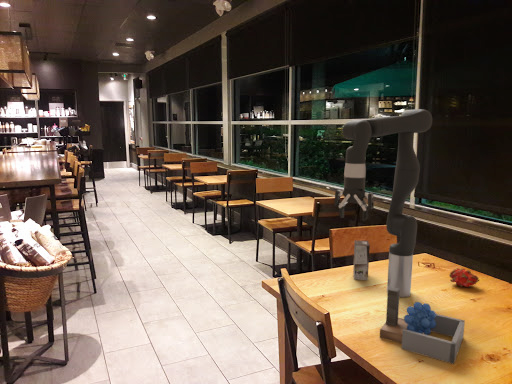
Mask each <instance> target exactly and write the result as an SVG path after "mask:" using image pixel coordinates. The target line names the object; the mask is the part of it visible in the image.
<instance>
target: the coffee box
mask: <svg viewBox="0 0 512 384" xmlns="http://www.w3.org/2000/svg"><path fill="white" fill-rule="evenodd" d="M353 246H354V247H353V248H354V249H353V250H354V251H353V271H352V272H353V279H354V280H358V281H359V280H360V281H368V279H369V264H370V250H371V249H370V243H369V240H356V239H355V240H354V245H353Z"/></svg>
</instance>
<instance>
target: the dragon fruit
mask: <svg viewBox="0 0 512 384" xmlns="http://www.w3.org/2000/svg"><path fill="white" fill-rule="evenodd" d="M449 278H451V279H450V280H449V281H450V282H451V283H455V285H456V286H459V287H460V288H463V287H466V288H468V289H472V288H473V287H474V285H476V284H477V283H479V282H480V279H479V277H478V276H477V275H475V274H473V273H472V271H470V269H467V270H466V269H465V268H458V267H457V268H456V269H455V268H454V269H453V270H452V271H450V273H449Z"/></svg>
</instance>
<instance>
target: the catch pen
mask: <svg viewBox="0 0 512 384" xmlns="http://www.w3.org/2000/svg"><path fill="white" fill-rule="evenodd" d="M433 320H434V321H435V322H436V327H435V328H430V329H431V333H432V332H433V333H436V334H441V335H445V336H449V337H451V336H452V337H451V338H452V340H451V341H450V340H446V339H443V338H439V337H435V336H433V335H430V334H429V335H425V334H424V333H423V334H421V333H417V332H414V331H410V330H406V329H403V335H402V344H401V350H404V351H408V352H411V353H415V354H417V355H418V354H419V355H422V356H425V357H429V358H431V359H436V360H438V359H439V360H438V361H442V360H443V361H442V362H445V361H446V363H448V362H450V363H449V364H452V363H453V364H452V365H455V362H456V359H457V357H456V356H458V354H459V351H460V348H461V345H462V343H461V342H463V339H464V332H465V323H466V321H465V320H464V319H460V318H455V317H453V316H452V317H451V316H447V315H443V314H439V313H436V318H435V319H433ZM457 353H458V354H457Z"/></svg>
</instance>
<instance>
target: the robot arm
mask: <svg viewBox="0 0 512 384" xmlns="http://www.w3.org/2000/svg"><path fill="white" fill-rule="evenodd" d="M432 125H433V116H432V114H431V112H430V111H429V110H427V109H423V108H422V109H421V108H417V109H416V108H415V109H406V110H404V111H403V112H402V113H401V114H400V115H394V116H393V115H392V116H390V115H389V116H380V117H373V118H368V119H355V120H354V119H353V120H352V119H351V120H349V121H347V122H345V123H344V125H343V126H342V128H341V130H342V131H341V132H342V135H343V137H344V138H345V139H347V140H349V141H354V142H353V145H352V146H349V147H348V148H346V151H345V166H344V173H343V175H344V176H343V179H344V180H343V190H341V189H337V190H335V192H334V193H335V194H334V203H333V204H334V207H337V208H338V216H339V217H340V219H344V218H345V209H346V208H345V206H346V205H347V204H357V205H359V206H360V207H361V209H362V216H361V217H362V218H361V220H362V221H363V222H365V221H367V219H368V217H369V211H371V210H373V209H374V206H375V205H374V202H375V201H374V192H366V175H367V174H366V173H367V170H366V169H367V168H366V156H367V154H366V153H367V149H368V147H369V144H370V141H371V138H377V137H378V138H379V137H384V136H389V135H393V134H394V135H395V134H398V137H397V140H398V142H397V143H398V146H397V152H396V153H397V157H396V164H395V169H394V179H393V187H392V188H393V189H392V194H391V201H390V204H389V208H388V209H389V210H388V213H387V219H386V225H385V226H386V231H387V233H388V234H390V235H391V236H395V237H399V238H400V240H399V242H397V243H391V244H390V246H389V249H388V254H389V255H388V268H387V282H386V283H387V284H386V292H387V294H388V289H389V288H390V287H393V288H397V289H400V293H399V298H408V297H410V296H411V290H412V289H411V288H412V278H413V277H412V275H413V260H414V249H415V248H416V242H417V233H418V221H417V219H416V217H415V216H412V215H408V214H403V211H404V207H405V203H406V201H407V200H408V198H409V196H410V195H411V194H412V192H413V191H414V190H415V189H416V187H417V186H418V183H419V177H420V171H421V166H420V162H419V159H418V157H417V154H416V152H415V149H414V145H413V144H414V133H415V134H421V133H425V132H427V131H428V130H430V129H431V127H432ZM341 196H343V197H344V198H343V199H342V200H341ZM365 197H366V199H367V202H366V200H365V199H364V198H365Z"/></svg>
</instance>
